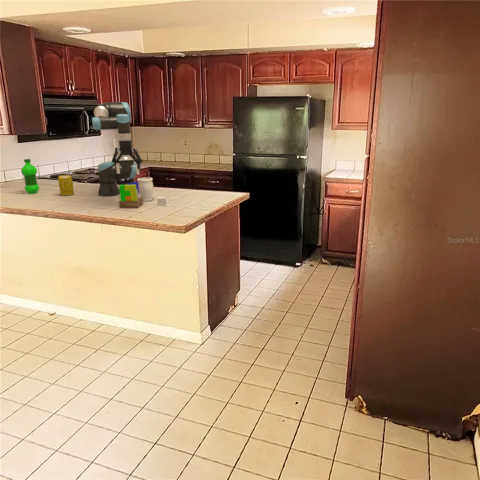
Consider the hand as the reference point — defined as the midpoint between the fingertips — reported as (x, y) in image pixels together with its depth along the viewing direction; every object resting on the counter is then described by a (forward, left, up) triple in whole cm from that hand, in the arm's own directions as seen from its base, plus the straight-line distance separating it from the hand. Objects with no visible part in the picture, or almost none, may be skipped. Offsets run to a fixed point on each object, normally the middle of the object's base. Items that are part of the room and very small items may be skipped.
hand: (128, 173), depth 271 cm
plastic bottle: (-23, -92, -21) cm, 97 cm away
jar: (-17, +3, -21) cm, 27 cm away
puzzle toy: (+1, 0, -17) cm, 17 cm away
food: (-22, -62, -21) cm, 69 cm away
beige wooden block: (-6, +19, -21) cm, 29 cm away
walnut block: (0, 0, -21) cm, 21 cm away
